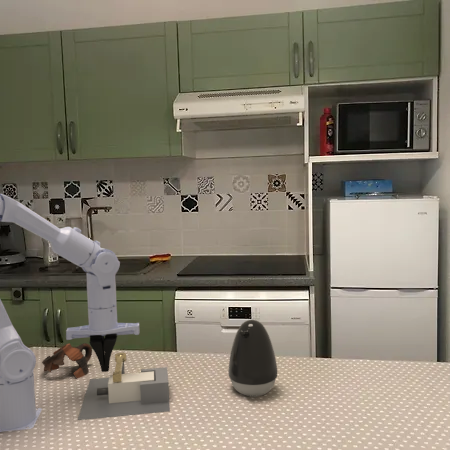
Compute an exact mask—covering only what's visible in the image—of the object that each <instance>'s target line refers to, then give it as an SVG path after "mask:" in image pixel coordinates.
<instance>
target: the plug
mask: <svg viewBox="0 0 450 450" xmlns="http://www.w3.org/2000/svg"><path fill="white" fill-rule="evenodd" d="M108 378H109V382H108V387H106V388H97V396H98V395H109V403H119V402H130V401H141V391H140V382H149V381H154V371H152V372H141V371H140V372H130V373H128V372H127V373H125V374H122V380H121V381H119V382H113V374H109V377H108Z"/></svg>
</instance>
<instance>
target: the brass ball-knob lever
mask: <svg viewBox="0 0 450 450" xmlns="http://www.w3.org/2000/svg"><path fill="white" fill-rule="evenodd" d="M114 360H115V361H114V362H115V363H116V364H115V369H114V371H113V373H112V375H113V382H119V381H121V380H122V366H123V362H124V363H125V362H127V353H126V352H116V353H115V354H114Z"/></svg>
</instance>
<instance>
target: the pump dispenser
mask: <svg viewBox="0 0 450 450" xmlns="http://www.w3.org/2000/svg"><path fill="white" fill-rule="evenodd" d="M277 365H278V364H277V358H276V355H275V350H274V346H273V343H272V340H271V338H270V335H269V333H268V331H267V329H266V328H265V326H264V324H262V322H260V321H259V320H255V319H248V320H245V321H244V322H242V323H241V325H240V326H239V328H238V330H237V331H236V334H235V336H234V339H233V342H232V346H231V349H230V355H229V363H228V368H227V369H228V374H227V375H228V378H229V379H230V383H231V385H232V387H233V388H234V389H235V390H236V392H238V393H239V394H241V395H244V396H247V397H250V398H251V397H253V398H255V397H261V396H263V395H265V394H267V393H269V392H270V391H271V390H272V389H273V387H274V385H275V383H276V379H277V378H278V366H277Z"/></svg>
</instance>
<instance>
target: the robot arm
mask: <svg viewBox="0 0 450 450" xmlns="http://www.w3.org/2000/svg"><path fill="white" fill-rule="evenodd" d="M0 222H3V223H4V222H5V223H13V224H15V225H18V227H19V226H20V227H21V228H22V229H25V230H26V231H28V232H30V233H32V234H34V235H36V236H37V237H40V238H41V239H44V240H45V241H46V242H47V241H48V242H49V244H50V248H51V250H52V252H53V253H54V254H56V255H58V256H59V257H61V258H63V259H65V260H67V261H68V262H71V263H72V264H73V265H76V266H77V267H80V268H81V269H82V271H83V272H85V273H86V274H85V275H86V293H87V295H86V296H87V315H88V316H87V317H88V324H86V325H80V326H75V327H73V326H72V327H67V328H66V330H65V332H66V333H65V338H66V341H69V340H73V339H81V338H89V345H90V346H91V348H92V351H93V352H94V354H95V355H96V357H97V360H98V362H99V366H100V371H101V373H106V372H109V370H110V362H111V356H112V353H113V350H114V347H115V344H116V343H117V341H118V340H117V339H118V336H125V335H134V336H135V335H136V336H138V335H140V322H136V323H135V322H118V308H117V306H118V305H117V286H116V285H117V284H116V283H117V282H116V275H117V273H118V271H119V270H120V269H119V268H120V267H121V266H120V264H121V261H119V259H118V256H117V254H116V253H115V252H114V251H113V250H111V249H108V248H104V247H101V242H100V241H98V240H97V239H95V240H92V239H91V238H89V237H87V236H86V235H84V234H83V233H82V230H81V228H79V227H75V226H74V227H73V228H72V227H71V226H65V227H61V228H60V227H58V226H56V225H55V224H54V223H52V222H50V221H48V219H46V218H44V217H43V216H41V215H39V214H38V213H36V212H35V211H34V210H32V209H30V208H29V207H27V206H26V205H25V204H23V203H21V202H19V201H17V200H16V199H13V198H12V197H10V196H8V195H6V194H3V193H0ZM36 362H37V357H36V354H35V353H34V351H33V350H32V349H31V348H29V347H28V346H26V345H25V344H24V342H23V341H22V338H21V336H20V335H19V334H18V332H17V329H16V328H15V326H14V325H13V323H12V321H11V318H10V317H9V315H8V312H7V310H6V308H5V305H4V303H3V302H2V300H1V298H0V433H1V432H14V431H24V430H31V429H33V428H34V426H35V424H36V423H37V421H38V418H39V416H40V415H41V413H42V411H43V408H42V407H41V408H40V407H39V408H36V392H35V391H36V390H35V389H36V388H35V376H34V375H35V374H34V369H36V368H35V367H36V364H37V363H36Z"/></svg>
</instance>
